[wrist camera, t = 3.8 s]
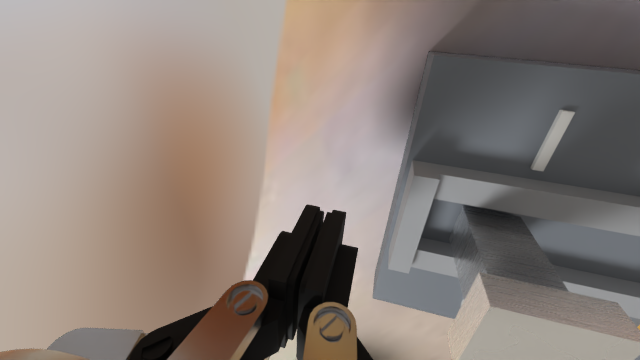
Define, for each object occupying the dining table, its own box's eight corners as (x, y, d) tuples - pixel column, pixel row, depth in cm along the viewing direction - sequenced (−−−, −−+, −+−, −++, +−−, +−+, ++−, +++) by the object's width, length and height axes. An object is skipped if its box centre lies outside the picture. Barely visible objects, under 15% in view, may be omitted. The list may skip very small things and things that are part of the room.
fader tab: (452, 192, 12) (490, 306, 7) (541, 208, 12) (651, 345, 7) (433, 245, 14) (453, 368, 9) (510, 261, 13) (579, 404, 8)
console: (428, 51, 12) (439, 59, 9) (1018, 104, 9) (1342, 144, 6) (374, 273, 19) (370, 319, 16) (689, 348, 16) (757, 423, 13)
